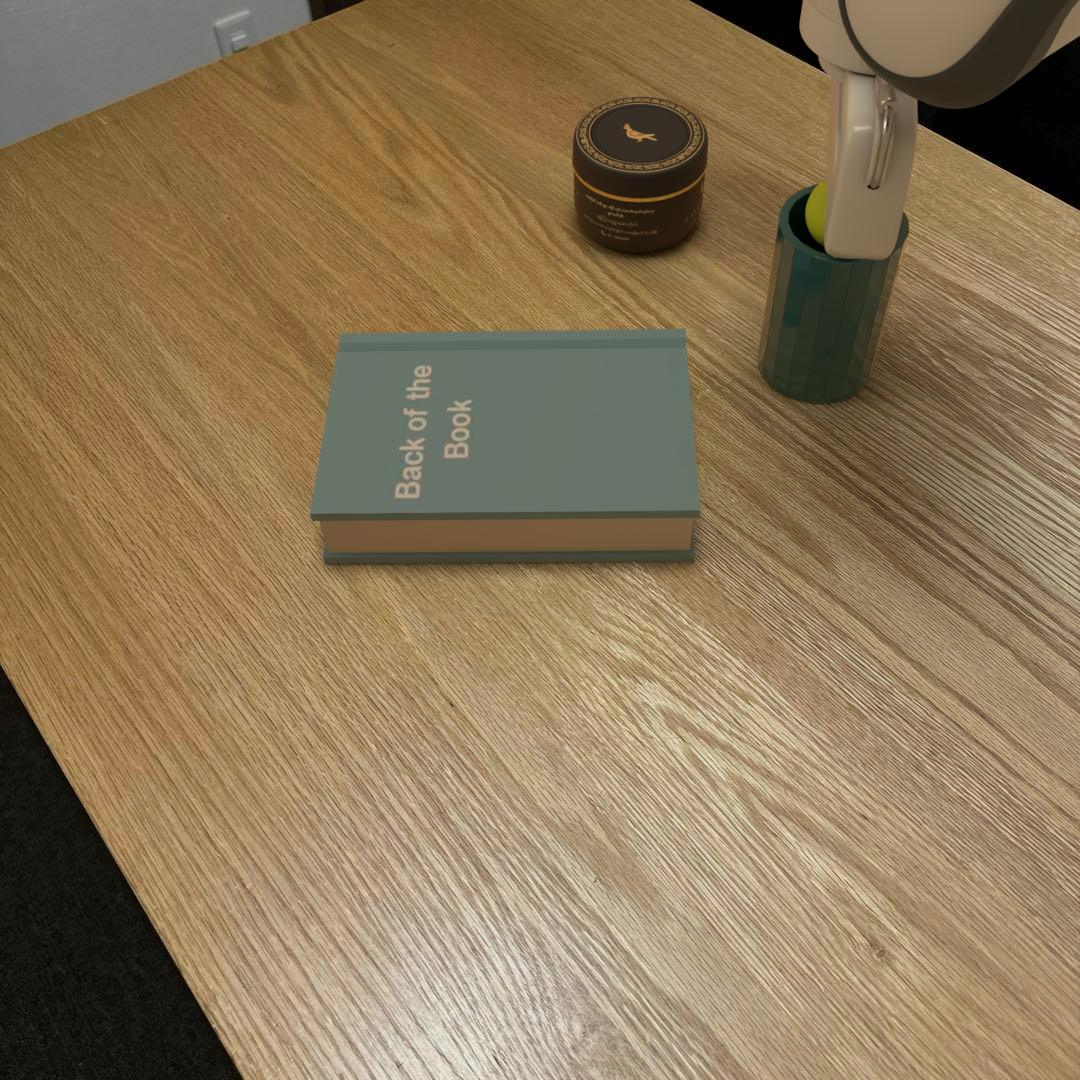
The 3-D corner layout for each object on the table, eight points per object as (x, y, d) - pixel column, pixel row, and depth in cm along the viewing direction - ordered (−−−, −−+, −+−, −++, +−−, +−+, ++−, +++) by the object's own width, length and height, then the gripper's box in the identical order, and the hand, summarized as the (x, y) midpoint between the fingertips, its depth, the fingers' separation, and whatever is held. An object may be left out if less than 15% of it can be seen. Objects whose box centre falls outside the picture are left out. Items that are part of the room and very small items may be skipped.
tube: (872, 329, 84) (908, 186, 75) (871, 409, 80) (910, 268, 70) (760, 319, 85) (782, 177, 76) (753, 397, 81) (775, 257, 71)
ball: (875, 222, 75) (890, 159, 71) (875, 269, 72) (890, 207, 69) (801, 216, 76) (812, 154, 72) (799, 263, 73) (810, 201, 69)
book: (325, 564, 73) (309, 513, 69) (353, 376, 83) (341, 323, 79) (694, 561, 72) (700, 510, 68) (679, 372, 82) (684, 318, 78)
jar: (688, 269, 89) (695, 183, 82) (558, 250, 90) (556, 164, 84) (712, 188, 94) (720, 102, 88) (589, 171, 96) (589, 85, 90)
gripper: (960, 122, 55) (899, 342, 66) (946, -89, 67) (896, 126, 78) (822, 112, 56) (784, 331, 67) (832, -94, 68) (798, 120, 79)
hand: (844, 219), depth 73 cm, fingers closed on ball, 4 cm apart
